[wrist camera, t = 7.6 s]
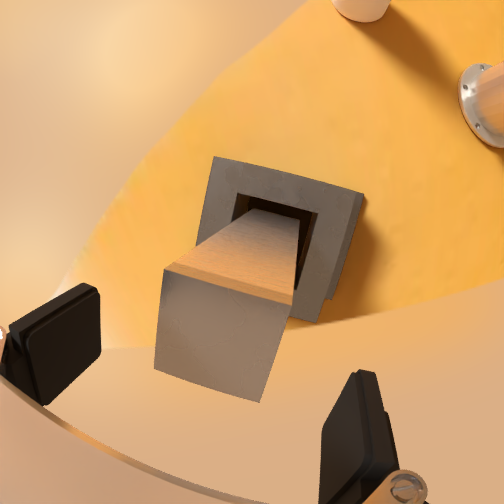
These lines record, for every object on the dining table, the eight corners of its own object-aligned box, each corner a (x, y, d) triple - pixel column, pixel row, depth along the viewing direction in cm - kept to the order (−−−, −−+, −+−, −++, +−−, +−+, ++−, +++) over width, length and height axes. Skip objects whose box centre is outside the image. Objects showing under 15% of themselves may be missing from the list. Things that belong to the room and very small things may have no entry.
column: (299, 219, 32) (291, 305, 11) (285, 271, 34) (255, 414, 13) (253, 208, 33) (164, 268, 12) (241, 259, 34) (153, 380, 13)
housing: (362, 193, 36) (382, 199, 26) (331, 296, 40) (338, 332, 30) (216, 156, 38) (188, 151, 28) (195, 259, 42) (165, 284, 32)
